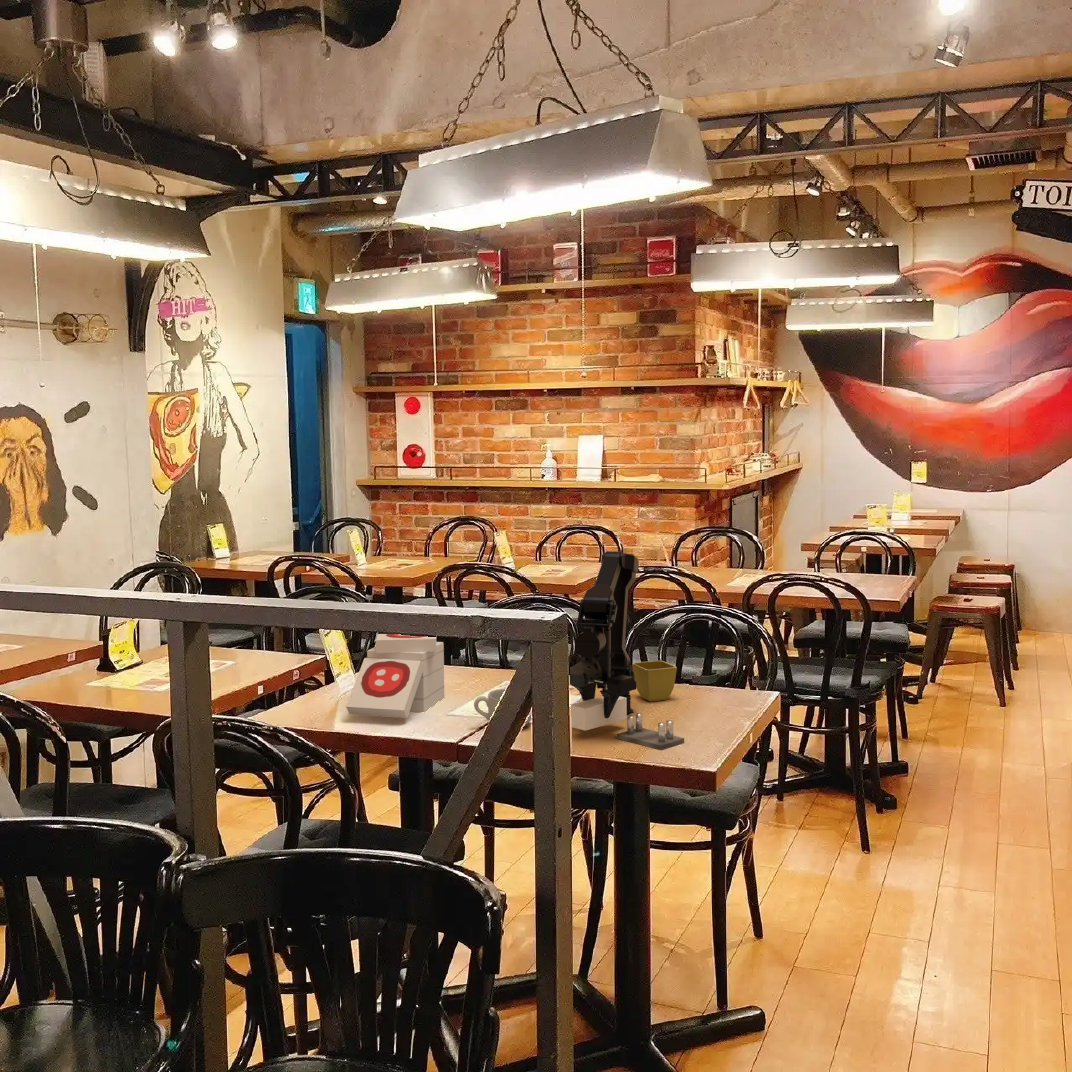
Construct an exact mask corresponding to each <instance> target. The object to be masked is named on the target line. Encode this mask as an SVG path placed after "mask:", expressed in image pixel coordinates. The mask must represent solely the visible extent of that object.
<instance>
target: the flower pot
mask: <svg viewBox="0 0 1072 1072" xmlns="http://www.w3.org/2000/svg"><path fill="white" fill-rule="evenodd" d="M631 666H632V670H633V672H634V676H635V680H636V690H637V692H638V694H639V696H640V697H641V698H642V699H644V700H647V701H648V702H650V703H651V702H657V701H666V700H668V699H669V697H670V696H671V694H672V692H673V690H674V688H675V682H676V677H677V670H678V668H677V666H675V664H674V665H673V664H671V663H669V662H666V661H664V660H660V659H659V660H649V661H640V662H633V663H632V665H631Z"/></svg>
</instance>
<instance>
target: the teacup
mask: <svg viewBox="0 0 1072 1072" xmlns="http://www.w3.org/2000/svg"><path fill="white" fill-rule="evenodd" d="M506 688H507V687H506ZM506 688H498V689H493V690H490V691H489V692H488V693H487V697H486V696H483V695H480V696H478V697H477V698H476V699H475V700H474V702H473V707H474V710H475V711H476V712H477V714H479V715H481V716H482V717H484V718H485V719H486V720H487V721H489V720H490V717H491V716H492V714H493V712H494V711H495V707H496V706H497V704H498V702H499V701H500V697H501V696H502V694H503V692H504V691H505V689H506ZM482 701H483V702H485V704H486V707H487V708H488V709H487V712H485V711H483V710H482V709H481V708H479V703H481V702H482ZM531 721H532V718H531V715H530V716H529V717H528V720H527V721H526V725H527V724H529V723H530V722H531Z"/></svg>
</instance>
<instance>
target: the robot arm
mask: <svg viewBox="0 0 1072 1072" xmlns="http://www.w3.org/2000/svg"><path fill="white" fill-rule="evenodd" d="M639 567H640V564H639V559H638V557H636V556H635V554H634V553H626V552H622V551H618V550H617V551H611V550H609V551H608V550H606V551H603V552H602V554H601V565H600V568H599V570H598V574H597V577H596V580H595V582H594V585H593V586H592V587H589V588H588V589H587V590H586V591H585V593H584V596H583V598H581V600H580V602H579V609H578V616H577V621H576V626H577V627H582V628H583V630H582V632H581V633H580V634H578V635H577V637H576V638H575V641H574V649H575V651H576V653H577V654H578V655H580V661H579V662H578V663H576V664H574V665H573V666H570V684H569V685H571V686H572V687H573V688H575V689H576V690H577V691H578V692H579V695H580V697H581V699H582V701H586V700H590V699H594V698H596V691H597V689H601V690H599V693H600V694H601V697H602V696H603V697H604V716H605V718H609V717H610V714H611V712H612V710H613V708H614V706H615V704H616V702H617V700H618V698H619V696H621V697H625V698H627V714H631V713H634V712H635V710H634V709H631V708H632V707H631V694H630V692H631V691H635V690H637V688H636V680H635V676H634V672H633V665H631V659H630V657H629V655H628V652H627V650H626V649H625V647H626V635H627V634H626V633H627V618H628V604H629V603H628V599H629V591H630V588H631V587H632V585H633V584H634V582H635V581H636V579H637V578H636V577H637V574H638V572H639V569H640V568H639ZM596 688H597V689H596Z"/></svg>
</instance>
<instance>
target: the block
mask: <svg viewBox="0 0 1072 1072" xmlns="http://www.w3.org/2000/svg"><path fill="white" fill-rule="evenodd" d="M570 705H571V717H572V727H571V728H573V729H578V730H581V731H590V730H592V729H597V728H599V727H600V728H601V727H603V726H607V725H611V724H613V723H617V722H621V721H624V720H627V716H628V715H627V698H625V697H621V696H619V698H618V700H617V702H616V704H615V706H614V708H613V710H612V712H611V714H610V717H609V718H605V716H604V697H603V696H602V695H601V696H598V697H595V698H594V699H590V700H586V701H583V700H582V701H580V702H579V701H578V702H576V703H575V702H574V703H572V704H571V703H570Z"/></svg>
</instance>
